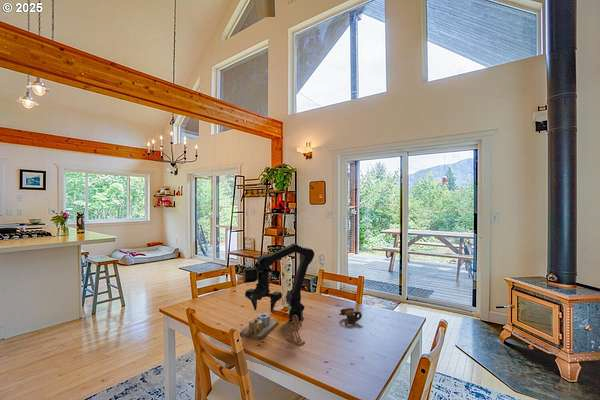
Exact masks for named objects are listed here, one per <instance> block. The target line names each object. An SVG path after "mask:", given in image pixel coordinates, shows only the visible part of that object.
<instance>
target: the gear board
mask: <svg viewBox="0 0 600 400" xmlns="http://www.w3.org/2000/svg"><path fill="white" fill-rule="evenodd" d="M277 326H279V321H278V320H272V319H270V325H267V326H263V321H262V320H258V319H257V318H255V319H251V320H250V321H249V322H248V325H247V326H246V327H245V328H243V329H242V330H241V331H239V336H240V335H241V337H245V338H251V339H257V340H261V341H262V340H264V339H265V338H266V337H267V336H268V335H269V334H270V333H271V332H272V331H273V330H274V329H275V328H276V327H277Z"/></svg>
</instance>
